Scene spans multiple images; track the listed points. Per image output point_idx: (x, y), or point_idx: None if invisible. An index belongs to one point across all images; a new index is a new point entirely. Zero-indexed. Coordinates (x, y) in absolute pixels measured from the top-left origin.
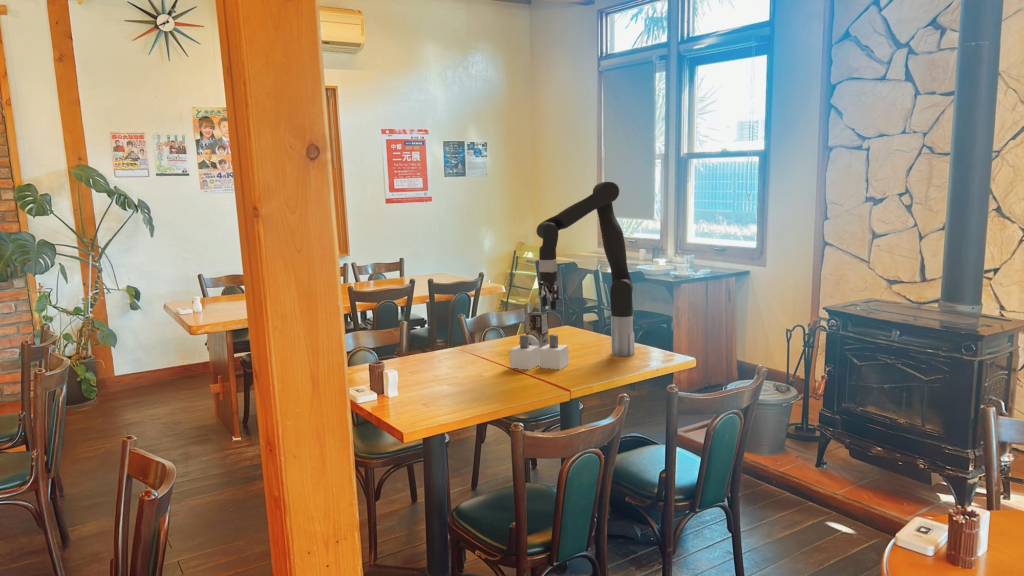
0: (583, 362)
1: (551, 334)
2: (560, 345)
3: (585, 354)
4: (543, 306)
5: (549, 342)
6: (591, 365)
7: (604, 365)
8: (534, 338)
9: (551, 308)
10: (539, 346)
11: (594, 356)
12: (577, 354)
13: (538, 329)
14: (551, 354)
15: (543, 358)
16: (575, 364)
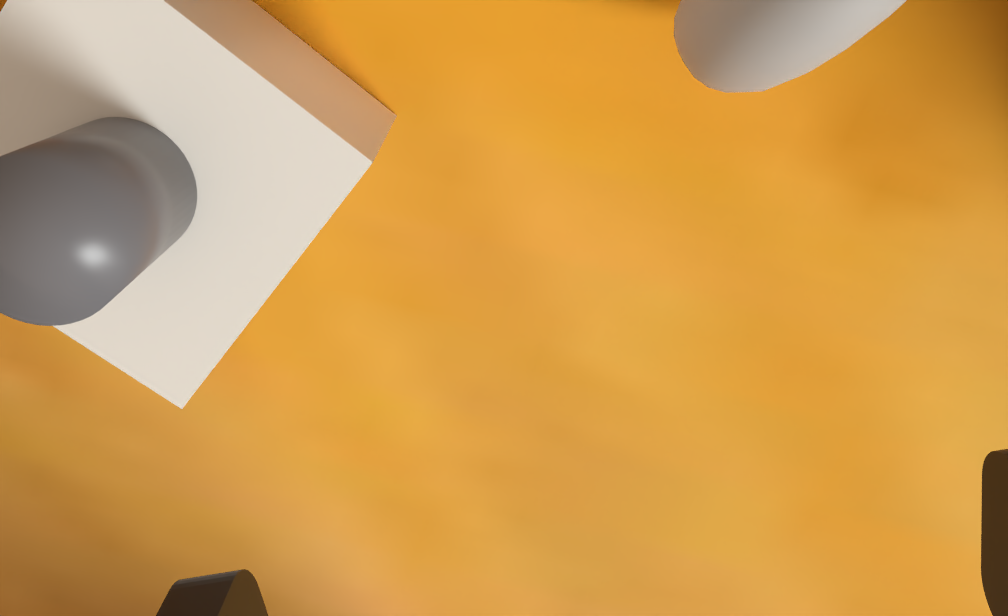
0: (301, 471)
1: (111, 221)
2: (217, 311)
3: (630, 575)
4: (988, 470)
5: (80, 130)
6: (156, 507)
7: (130, 611)
8: (773, 17)
9: (162, 608)
10: (707, 86)
11: None
12: (663, 507)
13: None
14: None
15: None
16: (235, 376)
